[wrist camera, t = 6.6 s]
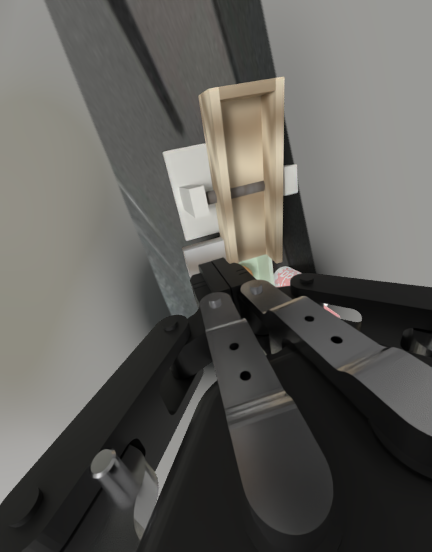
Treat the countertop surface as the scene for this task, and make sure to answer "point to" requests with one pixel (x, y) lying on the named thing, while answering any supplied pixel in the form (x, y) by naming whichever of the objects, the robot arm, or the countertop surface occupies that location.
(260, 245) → the tipping chute
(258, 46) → the countertop surface
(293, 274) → the beverage cup
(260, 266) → the cup
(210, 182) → the pivot stand
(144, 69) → the countertop surface
